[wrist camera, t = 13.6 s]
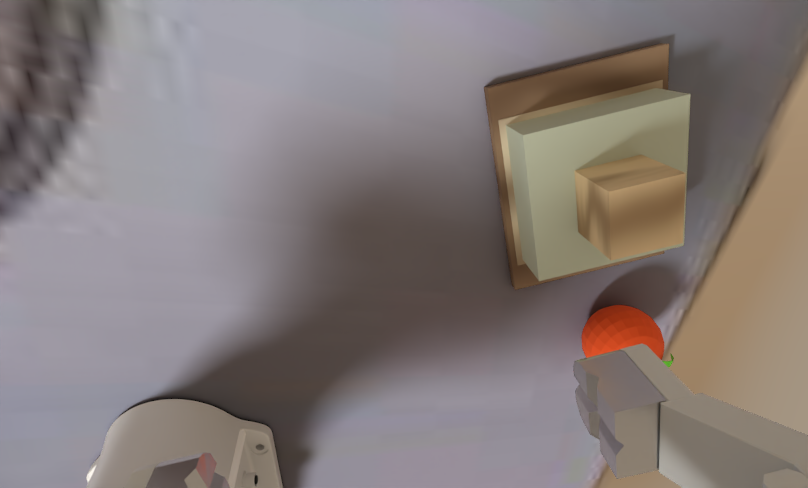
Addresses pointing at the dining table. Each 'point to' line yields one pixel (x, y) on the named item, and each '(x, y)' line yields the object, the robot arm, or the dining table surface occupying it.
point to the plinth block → (581, 148)
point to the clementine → (621, 331)
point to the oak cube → (630, 206)
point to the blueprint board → (555, 96)
